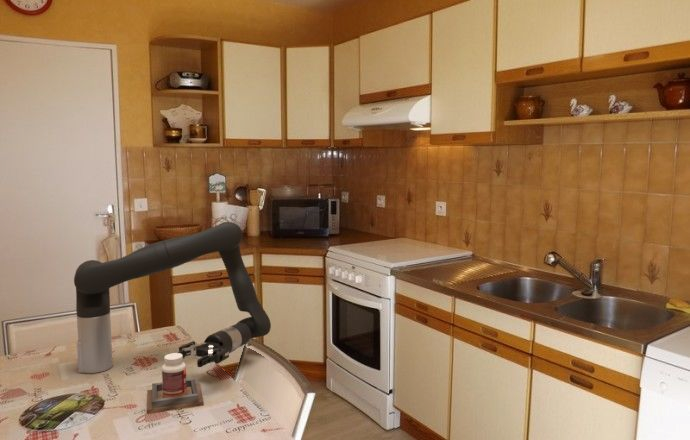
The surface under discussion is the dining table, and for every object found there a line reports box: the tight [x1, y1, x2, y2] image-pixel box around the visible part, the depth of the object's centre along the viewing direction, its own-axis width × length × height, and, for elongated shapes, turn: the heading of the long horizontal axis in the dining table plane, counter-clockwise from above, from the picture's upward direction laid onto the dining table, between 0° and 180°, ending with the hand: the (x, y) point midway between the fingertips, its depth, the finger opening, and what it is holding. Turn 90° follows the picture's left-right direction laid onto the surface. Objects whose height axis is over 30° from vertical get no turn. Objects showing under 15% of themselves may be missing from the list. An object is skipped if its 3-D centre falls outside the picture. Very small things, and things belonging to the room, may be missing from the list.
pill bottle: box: [161, 352, 187, 398], centre depth 140 cm, size 6×6×11 cm
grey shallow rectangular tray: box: [146, 377, 205, 415], centre depth 140 cm, size 14×12×3 cm
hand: (186, 361), depth 144 cm, fingers open, 8 cm apart
